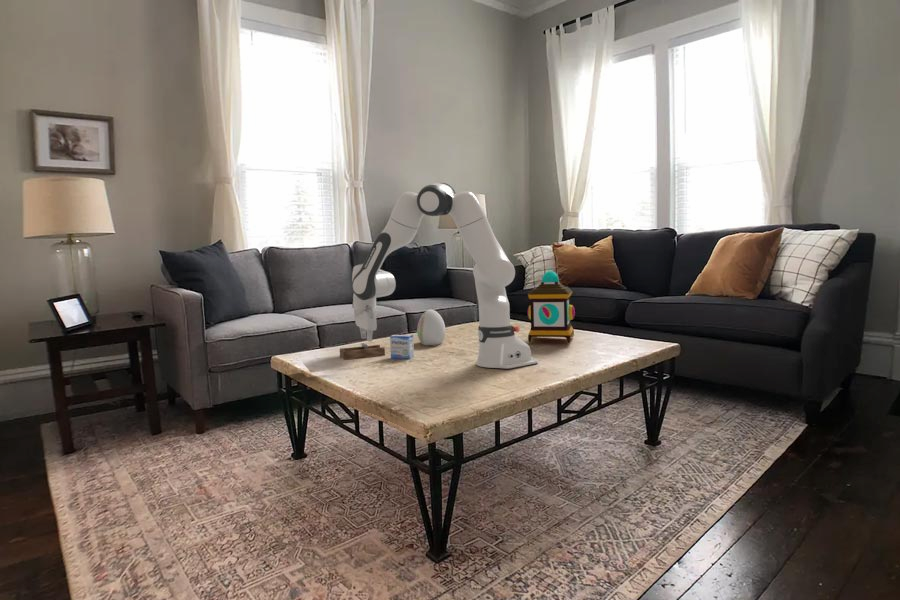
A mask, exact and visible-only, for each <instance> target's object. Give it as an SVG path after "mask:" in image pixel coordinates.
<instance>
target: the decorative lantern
mask: <svg viewBox="0 0 900 600" xmlns="http://www.w3.org/2000/svg"><path fill="white" fill-rule="evenodd" d="M559 279H560V278H559V276H558V274H557V273H556V272H555V271H554V270H548V271H546V272H545V273H544V274H542V277H541V282H540V284H539V285H538V286H536V287H535V288H532V289H531V290H530V291H529V292H528V293H527V297H528V299H529V301H530V303H529V304H530V305H529V306H528V307H527V318H528V319H529V320H530V330H529V332H528V334H527V340H528V344H532V342H533V338H538V337H539V338H565V339H566V343H567V344H568V345H569V344H571V339H573V338H574V336H575V333H574V328H573V326H572V322H571V321H572V320H574V319H575V315H576V312H575V307H574V305H573V304H571V296H572V294H573V290H572V289H571V288H569V286H565V284H562V283H561V282H560V280H559Z"/></svg>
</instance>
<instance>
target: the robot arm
mask: <svg viewBox="0 0 900 600" xmlns="http://www.w3.org/2000/svg"><path fill="white" fill-rule="evenodd" d="M447 215H448V216H450V217H451V218H452V219H453V221H454V224H455V226H456V228H457V231H458V233H459V236H460V237H461V240H462V242H463V244H464V247H465V249H466V250H467V252H468V253H469V255H470V256H471V259H473V261H474V263H475V264H474V266H473V269H472V273H473V278H474V284H475V285H474V286H475V292H476V296H477V302H478V317H479V318H478V320H479V323H478V325H479V326H478V327H477V329H478V335H477V336H478V344H479V345H478V353H477V354H478V355H477V360H476V363H475V364H476V365H477V366H478V367H481V368H482V367H483V368H490V369H491V368H492V369H494V368H495V369H504V370H505V369H506V370H507V369H508V370H509V369H513V368H519V367H523V366H530V365H533V364H538V363H539V360H538V359H537V358H535V357H533V356H532V351H531V348H530V345H529V343H527V342H525V341H524V340H522V339H520V338H519V337H518V336H517V335H516V334H515V332H516V333H519V332H520V331H521V329H520V327H519V326H517V325H515V326H513V325H511V318H510V317H511V316H510V315H511V313H510V311H511V308H510V307H511V306H510V302H509V299H508V296H507V290H506V287H507V286H509V285H510V284H511V283H512V282H513V281H514V279H515V276H516V269H515V266H514V264H513V263H512V262H511V261H510V259H509V258H508V256H507V254H506V252H505V250H504V249H503V248H502V246H501V244H500V243H499V241H498V238H496V235H495V234H494V230H493V229H492V226H491V224H490V222H489V219H488V217H487V215H486V213H485V211H484V208H483V207H482V204H481V203H480V201H479V200H478V198H477V196H476V195H475V193H473V192H471V191H467V190H465V191H460V192H458V193H456V191H455V190H454V188H453V187H452V186H451V185H450V184H448V183H445V182H433V183H430V184H428V185H425V186H424V187H422V188H421V189H420V191H419V192H418V193H416V192H413V191H405V192H403V193H401V194H400V196H399V197H398V199H397V201H396V203H395V204H394V206H393V209H392V211H391V213H390V216H389V218H388V221H387V223H386V224H385V227H384V228H383V230H382V231H381V233H380V234H378V236H377V238H376V239H375V240H374V242H373V244H372V245H371V248H370V250H369V251H368V253H367V255H366V257H365V260H364V262H363V263H359V264H356V265H354V266H353V268H352V275H351V276H352V277H351V286H352V287H351V288H352V292H353V295H352V299H353V301H352V306H351V307H352V309H353V314H354V315H353V316H354V322H355V325H356V327H358V328H359V331H360V332H359V333H360V337H361V339H363V340H364V339H365V340H366V342H369V343H370V342H373V334H374V331H377V328H378V326H377V325H378V323H377V322H378V321H377V313H376V311H375V310H376V309H377V298H382V297H387V296H390V295H392V294H394V292H395V291H396V287H397V281H396V278H395V275H393V274H392V273H391V272H390V271H385V270H384V269H381V267H382V266H383V263H384V262H385V260H386V259H387V257H388V256H389V255H390V254H392V252H395V251H397V250H399V249H400V248H403V247H405V246H407V245H410V243H412V241H413V240H414V238H415V237H416V236H417V235H416V234H417V233H418V230H419V227H420V225H421V222H422V220H423V218H424V217H425V216H430V217H439V216H447ZM476 365H475V366H476Z"/></svg>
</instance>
